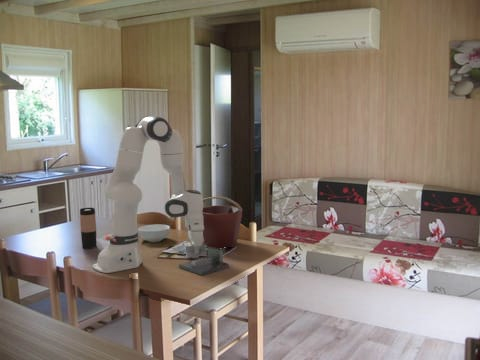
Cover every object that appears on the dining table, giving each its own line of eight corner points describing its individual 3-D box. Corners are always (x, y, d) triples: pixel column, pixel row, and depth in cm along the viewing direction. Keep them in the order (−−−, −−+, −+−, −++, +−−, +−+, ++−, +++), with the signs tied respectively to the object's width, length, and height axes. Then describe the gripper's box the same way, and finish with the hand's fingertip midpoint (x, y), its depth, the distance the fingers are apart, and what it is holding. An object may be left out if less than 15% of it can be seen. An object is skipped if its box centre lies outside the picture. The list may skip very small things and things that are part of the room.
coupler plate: (201, 275, 233) (201, 258, 232) (179, 267, 244) (178, 251, 243) (228, 267, 244) (228, 251, 243) (205, 259, 255) (205, 244, 254)
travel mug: (78, 247, 278) (76, 209, 275) (89, 244, 285) (87, 207, 282) (89, 249, 275) (87, 211, 272) (100, 245, 281) (98, 208, 278)
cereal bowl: (173, 236, 299) (172, 224, 297) (166, 244, 282) (165, 231, 281) (143, 236, 300) (142, 223, 299) (134, 244, 284) (134, 231, 283)
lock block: (186, 258, 258) (185, 245, 257) (183, 254, 264) (183, 242, 263) (206, 256, 261) (206, 244, 260) (203, 252, 267) (203, 240, 266)
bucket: (188, 245, 279) (187, 198, 275) (214, 236, 297) (213, 191, 294) (227, 253, 266) (226, 203, 262) (251, 242, 284) (251, 196, 280)
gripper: (184, 219, 269) (185, 245, 271) (191, 228, 249) (192, 257, 252) (197, 218, 271) (197, 244, 273) (204, 227, 251) (205, 256, 253)
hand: (195, 251), depth 262 cm, fingers closed on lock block, 6 cm apart
